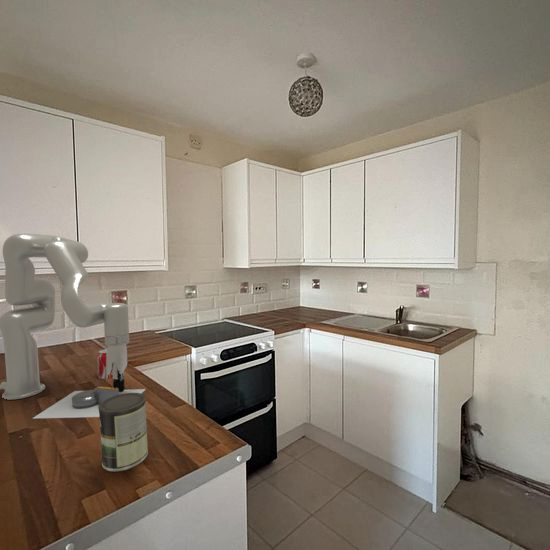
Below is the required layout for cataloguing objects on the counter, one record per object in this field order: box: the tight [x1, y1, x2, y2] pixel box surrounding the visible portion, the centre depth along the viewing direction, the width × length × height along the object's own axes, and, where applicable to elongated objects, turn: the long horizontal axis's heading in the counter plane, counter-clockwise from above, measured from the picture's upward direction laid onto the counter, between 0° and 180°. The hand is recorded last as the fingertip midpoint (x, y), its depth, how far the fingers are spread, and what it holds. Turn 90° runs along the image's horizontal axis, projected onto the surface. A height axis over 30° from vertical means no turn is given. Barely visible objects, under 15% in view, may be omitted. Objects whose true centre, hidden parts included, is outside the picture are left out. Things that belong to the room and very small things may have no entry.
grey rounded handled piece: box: [72, 385, 119, 408], centre depth 104 cm, size 16×9×5 cm, turn 76°
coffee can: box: [98, 393, 149, 473], centre depth 77 cm, size 10×10×14 cm
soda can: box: [96, 348, 113, 380], centre depth 130 cm, size 7×7×12 cm
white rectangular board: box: [31, 388, 147, 420], centre depth 105 cm, size 26×20×2 cm
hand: (119, 391), depth 110 cm, fingers closed
